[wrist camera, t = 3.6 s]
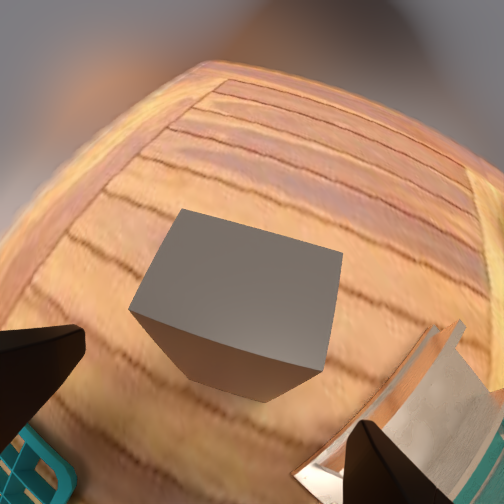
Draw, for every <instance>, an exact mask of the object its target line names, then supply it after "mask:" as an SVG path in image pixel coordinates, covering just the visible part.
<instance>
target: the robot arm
mask: <svg viewBox="0 0 504 504" xmlns="http://www.w3.org/2000/svg"><path fill="white" fill-rule="evenodd" d="M85 351H86V343H85V331H84V329H83V328H81V327H79V326H77V325H75V324H71V325H62V326H52V327H42V328H31V329H19V330H7V331H0V454H1V453H2V452H3V451H4V449H5V448H6V447H7V446H8V445H9V444H10V442H11V441H12V440H13V439H14V438H15V437H16V435H17V434H18V433H19V432H20V431H21V430H22V428H23V427H24V426H25V425H26V424H27V423H28V422H29V421H30V419H31V418H32V417H33V416H34V415H35V414H36V413H37V412H38V411H39V409H40V408H41V407H42V406H43V405H44V404H45V403H46V402H47V401H48V400H49V398H50V397H51V396H52V395H53V394H54V393H55V392H56V391H57V390H58V389H59V388H60V386H61V385H62V384H63V383H64V381H65V380H66V379H67V377H68V376H69V375H70V373H71V372H72V371H73V369H74V368H75V367H76V365H77V364H78V363H79V361H80V360H81V359H82V357H83V356H84V354H85ZM343 504H454V503H453V502H452V501H451V500H450V499H449V498H448V497H447V496H446V495H445V494H444V493H443V492H442V491H441V490H440V489H439V488H437V487H436V485H435V484H434V483H433V482H432V481H431V480H430V479H429V478H428V477H427V476H426V475H425V474H424V473H423V472H422V471H421V470H420V469H419V468H418V467H417V466H416V465H415V464H414V463H413V462H412V461H411V460H410V459H409V458H408V457H407V456H406V455H405V454H404V453H403V452H402V451H401V450H400V449H399V448H398V447H397V446H396V444H395V443H394V442H393V441H392V440H391V439H390V438H389V437H388V436H387V435H386V434H385V433H384V432H383V431H382V430H381V429H380V428H379V427H378V426H377V424H376V423H375V422H374V421H372V420H364V419H362V420H359V421H358V423H357V424H356V426H355V427H354V429H353V430H352V432H351V433H350V435H349V436H348V438H347V442H346V452H345V463H344V473H343Z"/></svg>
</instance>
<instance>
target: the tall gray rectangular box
mask: <svg viewBox="0 0 504 504" xmlns="http://www.w3.org/2000/svg"><path fill="white" fill-rule="evenodd" d="M342 258H343V253H341V252H338V251H335V250H331V249H328V248H324V247H321V246H317V245H314V244H310V243H307V242H303V241H300V240H296V239H293V238H289V237H286V236H282V235H279V234H275V233H271V232H268V231H264V230H261V229H257V228H253V227H250V226H246V225H242V224H239V223H235V222H231V221H227V220H224V219H220V218H216V217H212V216H209V215H205V214H201V213H197V212H193V211H189V210H186V209H181V211H180V212H179V214H178V216H177V218H176V219H175V221H174V223H173V225H172V226H171V228H170V230H169V232H168V233H167V235H166V237H165V239H164V241H163V242H162V244H161V246H160V248H159V250H158V252H157V253H156V255H155V257H154V259H153V261H152V263H151V265H150V267H149V269H148V270H147V272H146V274H145V276H144V278H143V280H142V282H141V284H140V286H139V288H138V290H137V292H136V294H135V296H134V298H133V300H132V302H131V304H130V306H129V308H128V310H129V311H130V312H131V313H132V315H133V316H134V317H135V318H136V320H137V321H138V322H139V323H140V325H141V326H142V327H143V328H144V329H145V331H146V332H147V333H148V334H149V335H150V337H151V338H152V339H153V340H154V341H155V342H156V344H157V345H158V346H159V347H160V348H161V349H162V350H163V352H164V353H165V354H166V355H167V356H168V357H169V358H170V359H171V360H172V362H173V363H174V364H175V365H176V366H177V367H178V368H179V369H180V370H181V371H182V372H183V373H184V374H185V375H186V376H187V378H188V379H190V380H193V381H196V382H198V383H201V384H204V385H207V386H210V387H213V388H216V389H219V390H222V391H225V392H229V393H232V394H235V395H238V396H242V397H245V398H249V399H252V400H256V401H260V402H263V403H266V402H268V401H270V400H272V399H274V398H276V397H278V396H280V395H282V394H284V393H285V392H287V391H289V390H291V389H293V388H295V387H296V386H298V385H300V384H302V383H304V382H305V381H307V380H309V379H311V378H312V377H314V376H316V375H317V374H319V373H321V372H322V371H323V369H324V364H325V359H326V354H327V350H328V345H329V339H330V334H331V329H332V323H333V318H334V312H335V306H336V300H337V293H338V287H339V280H340V273H341V265H342Z"/></svg>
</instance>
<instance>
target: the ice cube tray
mask: <svg viewBox="0 0 504 504" xmlns="http://www.w3.org/2000/svg"><path fill="white" fill-rule="evenodd" d="M18 434H19V435H20V436H21V437H22V438H23V440H24V441H25V443H24V445H23V447H22V449H21V451H20V453H18V452H17V451H16V449H15V448H14V447H13V446H12V445H11V444H9V445H8V446H7V447H6V448H5V449H4V451H3V452H2V453H1V454H0V460H2V461H3V462H4V463H5V465H6V466H7V467H8V468H9V469H10V470H11V473H10V476H8V475H7V474H6V472H5V471H4V470H3V469H2V468H1V466H0V494H1V495H2V496H0V504H35V503H34V502H33V501H32V500H31V499H30V498H29V497H28V496H27V495H26V494H25V493H24V490H25V488H27V489H28V490H29V491H30V492H31V493H32V494H33V495H34V496H35V497H36V498H37V499H38V500H39V501H40V502H41V503H43V504H67V502H68V500H69V498H70V497H71V495H72V493H73V491H74V489H75V487H76V486H77V475H76V473H75V470H74V468H73V467H72V466H71V465H70V464H69V463H68V462H67V461H66V460H64V459H63V458H62V457H61V456H60V455H59V454H58V453H57V452H56V451H55V450H54V449H53V448H52V447H50V446H49V445H48V444H47V443H46V442H45V441H44V440H43V439H42V438H41V437H40V436H39V434H38V433H37V432H36V431H35V430H34V429H33V428H32V427H31V426H30V425H29V424H28V423H27V424H26V425H25V426H24V427H23V428H22V430H21V431H20V432H19V433H18ZM40 458H41V459H42V460H43V461H44V462H45V463H46V464H47V465H48V466H50V467H51V468H52V469H53V470H54V472H55V474H56V477H57V479H58V489H57V491H56V490H55V489H54V488H53V487H52V486H50V485H49V484H48V483H47V482H46V481H45V480H44V479H43V478H42V477H41V476H40V475H39V474H38V473H37V472H36V471H35V470H34V469H35V467H36V465H37V463H38V461H39V459H40Z"/></svg>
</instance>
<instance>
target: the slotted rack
mask: <svg viewBox="0 0 504 504" xmlns="http://www.w3.org/2000/svg"><path fill="white" fill-rule="evenodd" d="M465 329H466V326H465V325H464V324H463V322H462V321H461V320H460V319H459V320H458V321H456V322H454V323H453V324H451V325H450V326H448V327H447V328H445V329H443V330H442V331H439V329H438V328H437V327H436V326H435V325H432V326H431V327H429V328H428V329H427V330H426V331H425V333H424V334H423V335H422V337H421V338H420V340H419V341H418V342H417V344H416V345H415V346H414V348H413V349H412V350H411V352H410V353H409V354H408V356H407V357H406V358H405V360H404V361H403V362H402V363H401V365H400V366H399V367H398V368H397V370H396V371H395V372H394V373H393V375H392V376H391V377H390V378H389V379H388V381H387V382H386V383H385V384H384V385H383V386H382V388H381V389H380V390H379V391H378V392H377V393H376V394H375V395H374V397H373V398H372V399H371V400H370V401H369V402H368V403H367V404H366V405H365V406H364V407H363V408H362V409H361V411H360V412H359V413H358V414H357V415H356V416H355V417H354V418H353V419H352V420H351V421H350V422H349V423H348V424H347V425H346V426H345V427H344V428H343V429H342V430H340V431H339V432H338V433H337V434H336V435H335V436H334V437H333V438H332V439H331V440H330V441H329V442H328V443H326V444H325V445H324V446H323V447H322V448H321V449H320V450H319V451H317V452H316V453H315V454H314V455H313V456H312V457H310V458H309V459H308V460H307V461H305V462H304V463H303V464H302V465H301V466H299V467H298V468H297V469H296V470H294V471H293V472H292V473H290V474H292V475H293V476H294V477H295V478H296V479H297V480H298V481H299V482H300V483H301V484H302V485H303V486H304V487H305V488H306V489H307V490H308V491H309V492H310V493H311V494H313V495H314V496H315V497H316V498H317V499H318V500H319V501H320V502H321V503H323V504H343V473H344V463H345V452H346V442H347V438H348V436H349V435H350V433H351V432H352V430H353V429H354V427H355V426H356V424H357V423H358V421H359V420H362V419H364V420H372V421H374V422H375V423H376V424H377V426H378V427H379V428H380V429H381V430H382V431H383V432H384V433H385V434H386V435H387V436H388V437H389V438H390V439H391V440H392V441H393V442H394V443H395V444H396V446H397V447H398V448H399V449H400V450H401V451H402V452H403V453H404V454H405V455H406V456H407V457H408V458H409V459H410V460H411V461H412V462H413V463H414V464H415V465H416V466H417V467H418V468H419V469H420V470H421V471H422V472H423V473H424V474H425V475H426V476H427V477H428V478H429V479H430V480H431V481H432V482H433V483H434V484H435V485H436V487H437V488H439V489H440V490H441V491H442V492H443V493H444V494H445V495H446V496H447V497H448V498H449V499H450V500H451V501H452V502H453V503H454V504H504V388H503V389H500V390H497V391H494V392H491V393H490V392H489V391H488V390H487V388H486V387H485V386H484V384H483V383H482V382H481V380H480V379H479V378H478V376H477V375H476V374H475V373H474V371H473V370H472V369H471V368H470V366H469V365H468V364H467V363H466V361H465V360H464V359H463V358H462V357H461V355H460V354H459V353H458V352H457V350H456V349H455V347H456V346H457V344H458V342H459V340H460V338H461V336H462V335H463V333H464V331H465Z"/></svg>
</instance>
